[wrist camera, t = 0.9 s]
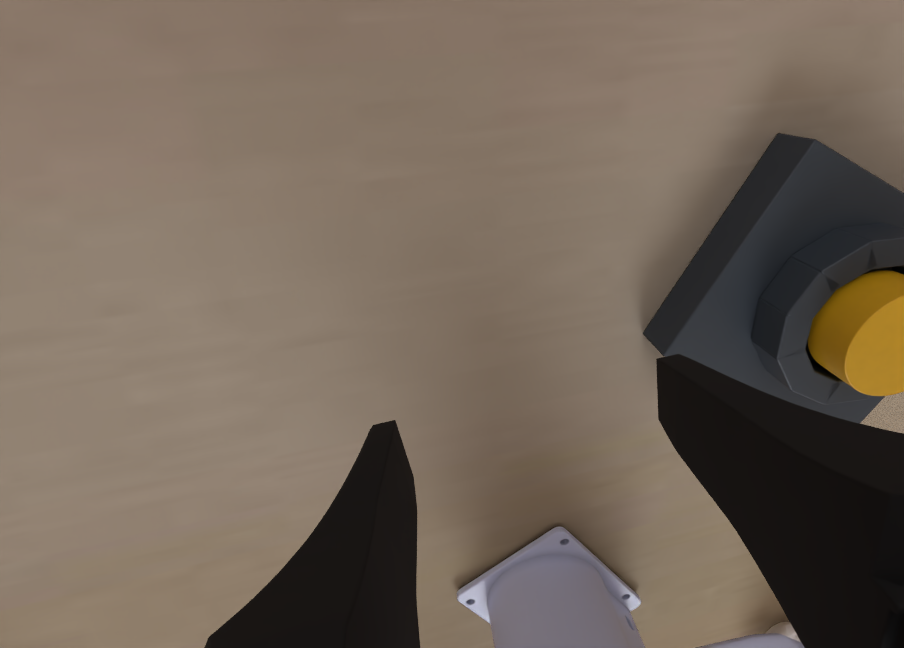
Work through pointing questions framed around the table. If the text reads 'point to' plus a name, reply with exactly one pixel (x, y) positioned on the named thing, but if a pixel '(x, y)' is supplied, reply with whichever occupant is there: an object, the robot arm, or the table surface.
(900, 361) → the button
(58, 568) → the table surface
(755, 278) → the grey button base
